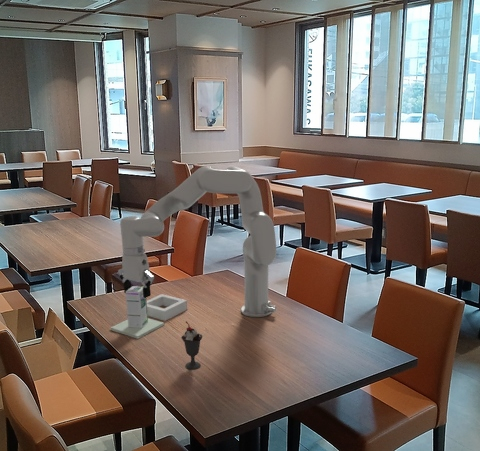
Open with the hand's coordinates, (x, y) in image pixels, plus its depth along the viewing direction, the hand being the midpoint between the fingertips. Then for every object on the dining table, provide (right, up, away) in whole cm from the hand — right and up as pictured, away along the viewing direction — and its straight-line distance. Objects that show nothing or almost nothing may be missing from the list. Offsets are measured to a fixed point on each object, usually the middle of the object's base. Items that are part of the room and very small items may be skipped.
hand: (137, 294), depth 194 cm
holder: (+7, -9, +18) cm, 21 cm away
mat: (0, -13, +3) cm, 13 cm away
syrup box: (0, -12, +3) cm, 12 cm away
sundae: (+23, -20, -26) cm, 40 cm away
